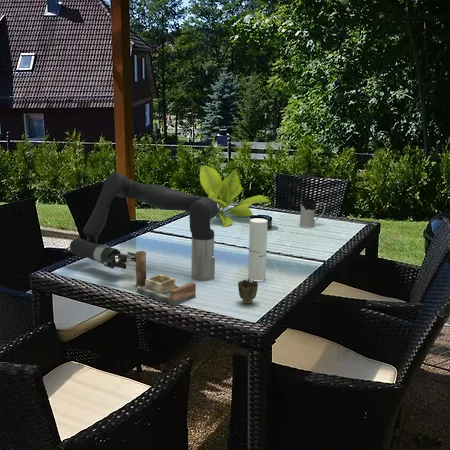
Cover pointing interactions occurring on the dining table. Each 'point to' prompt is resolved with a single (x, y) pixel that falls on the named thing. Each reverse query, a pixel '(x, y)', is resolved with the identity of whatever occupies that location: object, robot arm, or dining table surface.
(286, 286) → the dining table surface
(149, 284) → the sliding block
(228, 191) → the artificial plant
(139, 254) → the dowel
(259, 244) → the cylindrical container
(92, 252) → the robot arm
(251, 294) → the cup
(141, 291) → the rail board
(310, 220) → the grey mug
